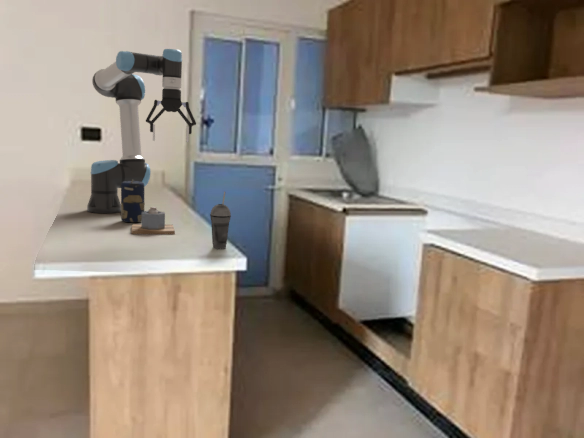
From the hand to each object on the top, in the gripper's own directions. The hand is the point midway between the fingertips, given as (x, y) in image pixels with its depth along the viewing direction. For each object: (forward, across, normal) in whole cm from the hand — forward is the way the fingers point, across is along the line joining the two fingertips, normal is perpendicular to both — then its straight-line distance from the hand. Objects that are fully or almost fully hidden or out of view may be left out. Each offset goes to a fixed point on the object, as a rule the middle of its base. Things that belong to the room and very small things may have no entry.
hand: (170, 141), depth 226 cm
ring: (+34, -7, -15) cm, 37 cm away
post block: (+35, -7, -15) cm, 38 cm away
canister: (+35, -15, +5) cm, 38 cm away
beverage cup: (+35, +15, -46) cm, 60 cm away
